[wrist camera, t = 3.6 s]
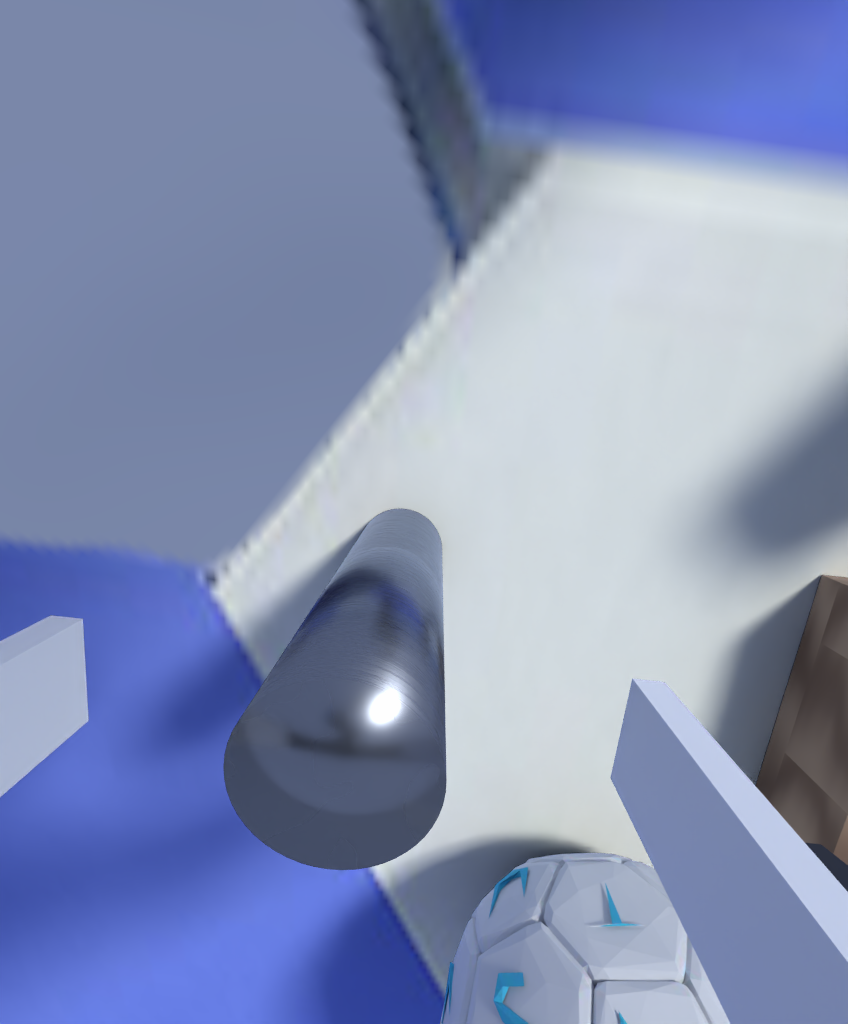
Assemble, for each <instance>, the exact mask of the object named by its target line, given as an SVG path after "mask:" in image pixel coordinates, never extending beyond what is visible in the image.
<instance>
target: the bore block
mask: <svg viewBox="0 0 848 1024" xmlns="http://www.w3.org/2000/svg"><path fill="white" fill-rule="evenodd" d="M756 787H757V788H758V790H759V791H760V792H761V793H762V794H763V795H764V796H765V798H766V799H767V800H768V801H769V802H770V803H771V804H772V806H773V807H774V808H775V809H776V810H777V811H778V813H779V814H780V815H781V816H782V817H783V818H784V819H785V821H786V822H787V823H788V824H789V825H790V826H791V827H792V829H793V830H794V831H795V832H796V833H797V834H798V835H799V837H800V838H801V839H802V840H803V841H804V842H805V843H813V844H821V845H822V846H824V847H825V848H826V849H828V850H829V851H830V852H831V853H833V854H834V855H835V856H837V857H838V858H839V859H840V860H842V861H843V862H844V863H845V864H847V865H848V578H845V577H836V576H827V575H822V576H821V579H820V582H819V586H818V589H817V592H816V595H815V598H814V601H813V605H812V608H811V611H810V614H809V617H808V621H807V624H806V627H805V630H804V633H803V636H802V640H801V643H800V646H799V649H798V652H797V656H796V659H795V662H794V665H793V668H792V671H791V675H790V678H789V681H788V684H787V687H786V691H785V694H784V697H783V700H782V703H781V706H780V710H779V713H778V716H777V719H776V722H775V726H774V729H773V732H772V735H771V738H770V741H769V745H768V748H767V751H766V754H765V757H764V761H763V764H762V767H761V770H760V773H759V776H758V780H757V783H756Z"/></svg>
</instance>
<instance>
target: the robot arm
mask: <svg viewBox="0 0 848 1024" xmlns="http://www.w3.org/2000/svg"><path fill="white" fill-rule="evenodd" d="M86 722H88V703H87V685H86V667H85V649H84V632H83V619H79V618H70V617H61V616H52V615H51V616H49V617H47V618H45V619H43V620H41V621H39V622H37V623H35V624H33V625H31V626H29V627H27V628H25V629H23V630H21V631H19V632H17V633H15V634H13V635H11V636H9V637H7V638H5V639H4V640H2V641H0V797H1V796H2V795H3V794H4V793H6V792H7V791H8V790H9V789H10V788H11V787H13V786H14V785H15V784H16V783H17V782H18V781H19V780H21V779H22V778H23V777H24V776H25V775H26V774H28V773H29V772H30V771H31V770H32V769H33V768H34V767H36V766H37V765H38V764H39V763H40V762H41V761H43V760H44V759H45V758H46V757H47V756H48V755H49V754H51V753H52V752H53V751H54V750H55V749H56V748H58V747H59V746H60V745H61V744H62V743H63V742H64V741H66V740H67V739H68V738H69V737H70V736H71V735H73V734H74V733H75V732H76V731H77V730H78V729H79V728H81V727H82V726H83V725H84V724H85V723H86ZM611 780H612V782H613V784H614V786H615V788H616V790H617V792H618V794H619V796H620V798H621V800H622V802H623V804H624V807H625V809H626V811H627V813H628V815H629V817H630V819H631V821H632V823H633V825H634V827H635V829H636V831H637V833H638V835H639V837H640V839H641V841H642V843H643V846H644V848H645V850H646V852H647V854H648V856H649V858H650V860H651V862H652V864H653V866H654V868H655V870H656V872H657V874H658V876H659V878H660V880H661V882H662V885H663V887H664V889H665V891H666V893H667V895H668V897H669V899H670V901H671V903H672V905H673V907H674V909H675V911H676V913H677V915H678V917H679V919H680V921H681V924H682V926H683V928H684V930H685V932H686V934H687V936H688V938H689V940H690V942H691V944H692V946H693V948H694V950H695V952H696V954H697V956H698V958H699V960H700V962H701V965H702V967H703V969H704V971H705V973H706V975H707V977H708V979H709V981H710V983H711V985H712V987H713V989H714V991H715V993H716V995H717V997H718V999H719V1001H720V1004H721V1006H722V1008H723V1010H724V1012H725V1014H726V1016H727V1018H728V1020H729V1022H730V1024H848V865H847V864H845V863H844V862H843V861H842V860H840V859H839V858H838V857H837V856H835V855H834V854H833V853H831V852H830V851H829V850H828V849H826V848H825V847H824V846H822V845H821V844H813V843H805V842H804V841H803V840H802V839H801V838H800V837H799V835H798V834H797V833H796V832H795V831H794V830H793V829H792V827H791V826H790V825H789V824H788V823H787V822H786V821H785V819H784V818H783V817H782V816H781V815H780V814H779V813H778V811H777V810H776V809H775V808H774V807H773V806H772V804H771V803H770V802H769V801H768V800H767V799H766V798H765V796H764V795H763V794H762V793H761V792H760V791H759V790H758V788H757V787H756V786H755V785H754V784H753V783H752V782H751V780H750V779H749V778H748V777H747V776H746V775H745V774H744V772H743V771H742V770H741V769H740V768H739V767H738V765H737V764H736V763H735V762H734V761H733V760H732V759H731V757H730V756H729V755H728V754H727V753H726V752H725V751H724V749H723V748H722V747H721V746H720V745H719V744H718V743H717V741H716V740H715V739H714V738H713V737H712V736H711V735H710V733H709V732H708V731H707V730H706V729H705V728H704V727H703V725H702V724H701V723H700V722H699V721H698V720H697V718H696V717H695V716H694V715H693V714H692V713H691V712H690V710H689V709H688V708H687V707H686V706H685V705H684V704H683V702H682V701H681V700H680V699H679V698H678V697H677V696H676V694H675V693H674V692H673V691H672V690H671V689H670V688H669V686H668V685H667V684H666V683H665V682H660V681H650V680H641V679H632V683H631V688H630V692H629V697H628V701H627V706H626V710H625V715H624V719H623V724H622V728H621V733H620V737H619V742H618V746H617V751H616V756H615V760H614V765H613V769H612V774H611Z"/></svg>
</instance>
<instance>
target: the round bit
mask: <svg viewBox="0 0 848 1024" xmlns="http://www.w3.org/2000/svg"><path fill="white" fill-rule="evenodd" d="M224 780H225V784H226V789H227V793H228V795H229V798H230V801H231V803H232V805H233V807H234V809H235V811H236V813H237V814H238V816H239V817H240V819H241V820H242V822H243V823H244V824H245V826H246V827H247V828H248V829H249V830H250V831H251V832H252V833H253V834H254V835H255V836H256V837H257V838H258V839H259V840H261V841H262V842H263V843H264V844H265V845H267V846H268V847H270V848H271V849H273V850H274V851H276V852H278V853H280V854H282V855H283V856H285V857H287V858H290V859H292V860H295V861H297V862H300V863H303V864H306V865H310V866H313V867H319V868H324V869H334V870H354V869H362V868H368V867H372V866H376V865H380V864H383V863H385V862H388V861H390V860H393V859H395V858H397V857H399V856H400V855H402V854H404V853H406V852H407V851H409V850H410V849H411V848H413V847H414V846H415V845H417V844H418V843H419V842H420V841H421V840H422V839H423V838H424V837H425V836H426V834H427V833H428V832H429V831H430V829H431V828H432V827H433V825H434V823H435V821H436V820H437V818H438V816H439V814H440V811H441V809H442V806H443V802H444V798H445V793H446V737H445V683H444V629H443V575H442V543H441V538H440V536H439V533H438V531H437V529H436V528H435V526H434V525H433V524H432V523H431V521H430V520H429V519H427V518H426V517H425V516H423V515H422V514H420V513H418V512H415V511H412V510H408V509H391V510H387V511H385V512H382V513H380V514H378V515H377V516H375V517H374V518H373V519H372V520H371V521H370V522H369V523H368V524H367V526H366V527H365V529H364V530H363V532H362V533H361V535H360V536H359V538H358V539H357V541H356V542H355V544H354V545H353V547H352V548H351V550H350V551H349V553H348V555H347V556H346V558H345V559H344V561H343V562H342V564H341V565H340V567H339V568H338V570H337V571H336V573H335V574H334V576H333V577H332V579H331V581H330V582H329V584H328V585H327V587H326V588H325V590H324V591H323V593H322V594H321V596H320V597H319V599H318V600H317V602H316V603H315V605H314V606H313V608H312V610H311V611H310V613H309V614H308V616H307V617H306V619H305V620H304V622H303V623H302V625H301V626H300V628H299V629H298V631H297V632H296V634H295V635H294V637H293V639H292V640H291V642H290V643H289V645H288V646H287V648H286V649H285V651H284V652H283V654H282V655H281V657H280V658H279V660H278V661H277V663H276V665H275V666H274V668H273V669H272V671H271V672H270V674H269V675H268V677H267V678H266V680H265V681H264V683H263V684H262V686H261V687H260V689H259V690H258V692H257V694H256V695H255V697H254V698H253V700H252V701H251V703H250V704H249V706H248V707H247V709H246V710H245V712H244V713H243V715H242V716H241V718H240V720H239V721H238V723H237V724H236V726H235V728H234V729H233V731H232V733H231V736H230V738H229V740H228V743H227V747H226V751H225V756H224Z"/></svg>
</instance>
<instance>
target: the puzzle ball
mask: <svg viewBox="0 0 848 1024" xmlns="http://www.w3.org/2000/svg"><path fill="white" fill-rule="evenodd" d="M440 1024H730V1022H729V1020H728V1018H727V1016H726V1014H725V1012H724V1010H723V1008H722V1006H721V1004H720V1001H719V999H718V997H717V995H716V993H715V991H714V989H713V987H712V985H711V983H710V981H709V979H708V977H707V975H706V973H705V971H704V969H703V967H702V965H701V962H700V960H699V958H698V956H697V954H696V952H695V950H694V948H693V946H692V944H691V942H690V940H689V938H688V936H687V934H686V932H685V930H684V928H683V926H682V924H681V921H680V919H679V917H678V915H677V913H676V911H675V909H674V907H673V905H672V903H671V901H670V899H669V897H668V895H667V893H666V891H665V889H664V887H663V885H662V882H661V880H660V878H659V876H658V874H657V872H656V870H655V869H654V868H652V867H650V866H648V865H646V864H645V863H643V862H636V861H632V859H630V858H627V857H623V856H619V855H615V854H606V853H575V854H556V855H550V856H544V857H538V858H532V859H528V860H527V861H526V863H524V864H522V865H520V866H517V867H515V868H514V869H513V870H512V871H511V872H510V873H509V874H508V875H507V876H505V877H504V878H503V879H502V880H501V881H499V882H498V883H497V884H496V885H495V888H494V889H493V890H491V891H490V892H489V893H488V894H487V895H486V896H485V897H484V898H483V899H482V901H481V902H480V904H479V905H478V907H477V908H476V909H475V911H474V912H473V914H472V916H471V919H470V920H469V921H468V923H467V926H466V928H465V930H464V933H463V935H462V938H461V941H460V944H459V946H458V949H457V952H456V955H455V957H454V960H453V963H451V962H450V967H449V974H448V981H447V988H446V995H445V1001H444V1006H443V1011H442V1016H441V1021H440Z"/></svg>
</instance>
